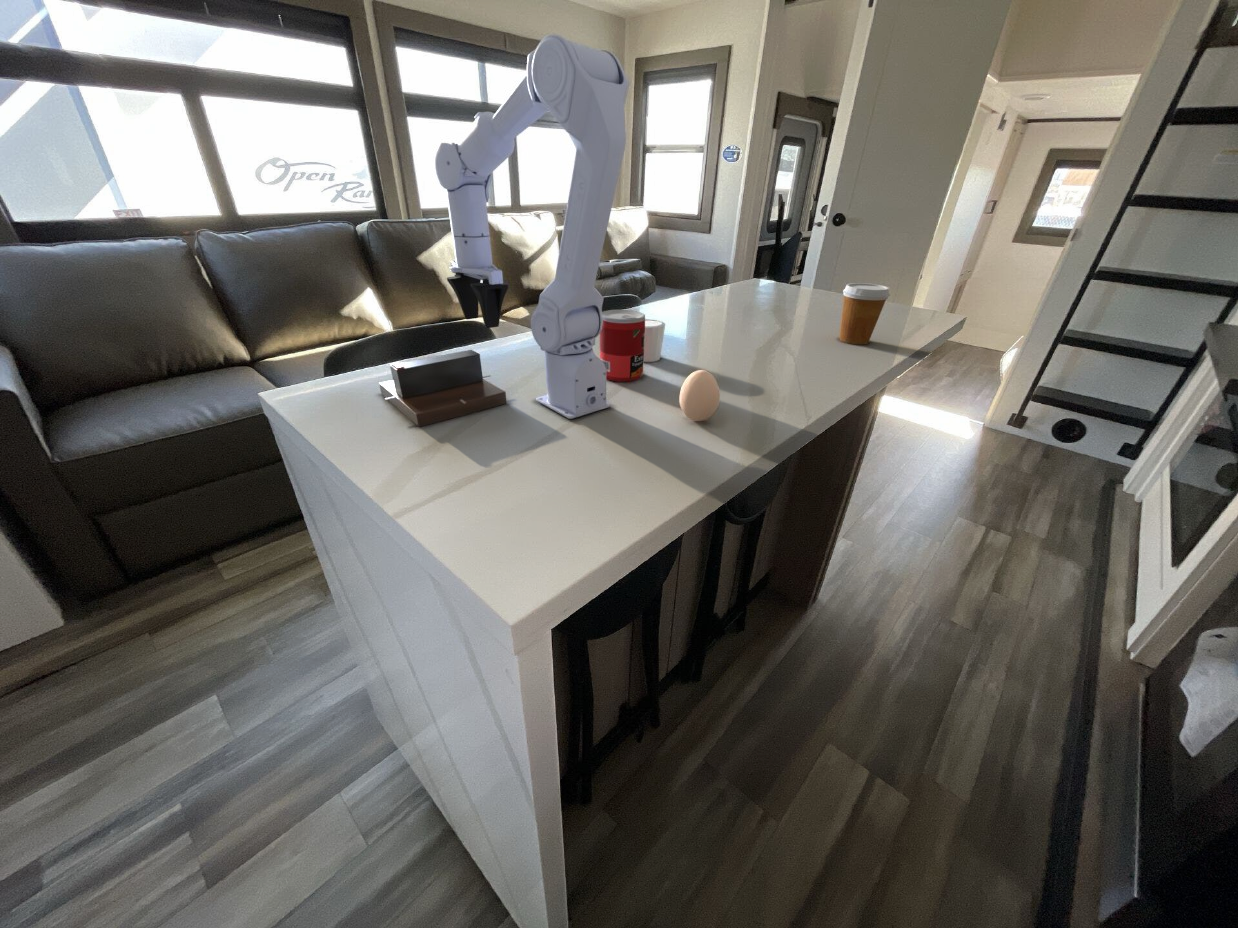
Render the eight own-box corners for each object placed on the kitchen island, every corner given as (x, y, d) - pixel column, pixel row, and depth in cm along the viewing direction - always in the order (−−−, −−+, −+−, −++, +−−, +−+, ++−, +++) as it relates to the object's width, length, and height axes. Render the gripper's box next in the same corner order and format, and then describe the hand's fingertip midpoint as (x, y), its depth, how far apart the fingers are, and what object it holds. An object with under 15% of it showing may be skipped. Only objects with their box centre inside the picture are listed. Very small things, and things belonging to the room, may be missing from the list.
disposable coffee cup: (836, 345, 110) (850, 289, 104) (828, 334, 118) (840, 282, 112) (881, 347, 108) (897, 291, 102) (869, 336, 116) (884, 283, 111)
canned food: (639, 384, 86) (641, 320, 80) (595, 380, 87) (594, 317, 82) (645, 370, 92) (648, 310, 87) (604, 367, 94) (604, 308, 88)
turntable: (517, 402, 78) (516, 389, 77) (409, 431, 68) (405, 417, 67) (469, 374, 89) (467, 362, 88) (370, 395, 79) (366, 383, 78)
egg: (722, 427, 71) (728, 376, 67) (683, 429, 70) (688, 378, 66) (709, 411, 76) (715, 363, 72) (673, 412, 75) (677, 364, 71)
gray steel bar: (474, 376, 82) (471, 348, 80) (483, 380, 80) (479, 352, 78) (396, 393, 75) (389, 363, 72) (403, 399, 73) (396, 368, 70)
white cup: (669, 356, 100) (671, 321, 97) (652, 365, 95) (654, 329, 92) (640, 350, 103) (641, 317, 100) (622, 358, 98) (623, 323, 95)
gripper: (428, 233, 80) (441, 317, 87) (467, 240, 70) (479, 335, 77) (468, 231, 84) (478, 312, 91) (511, 238, 74) (519, 328, 81)
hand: (481, 322), depth 84 cm, fingers open, 7 cm apart
